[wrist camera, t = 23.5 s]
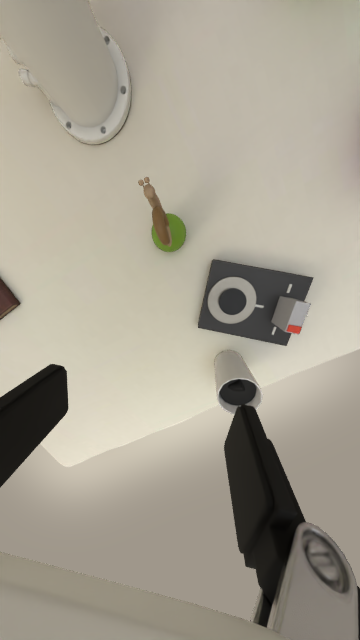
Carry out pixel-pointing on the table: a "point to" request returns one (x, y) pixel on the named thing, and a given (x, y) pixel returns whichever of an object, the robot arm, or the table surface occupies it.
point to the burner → (231, 300)
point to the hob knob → (290, 314)
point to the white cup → (235, 382)
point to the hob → (267, 296)
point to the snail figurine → (164, 223)
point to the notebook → (6, 300)
